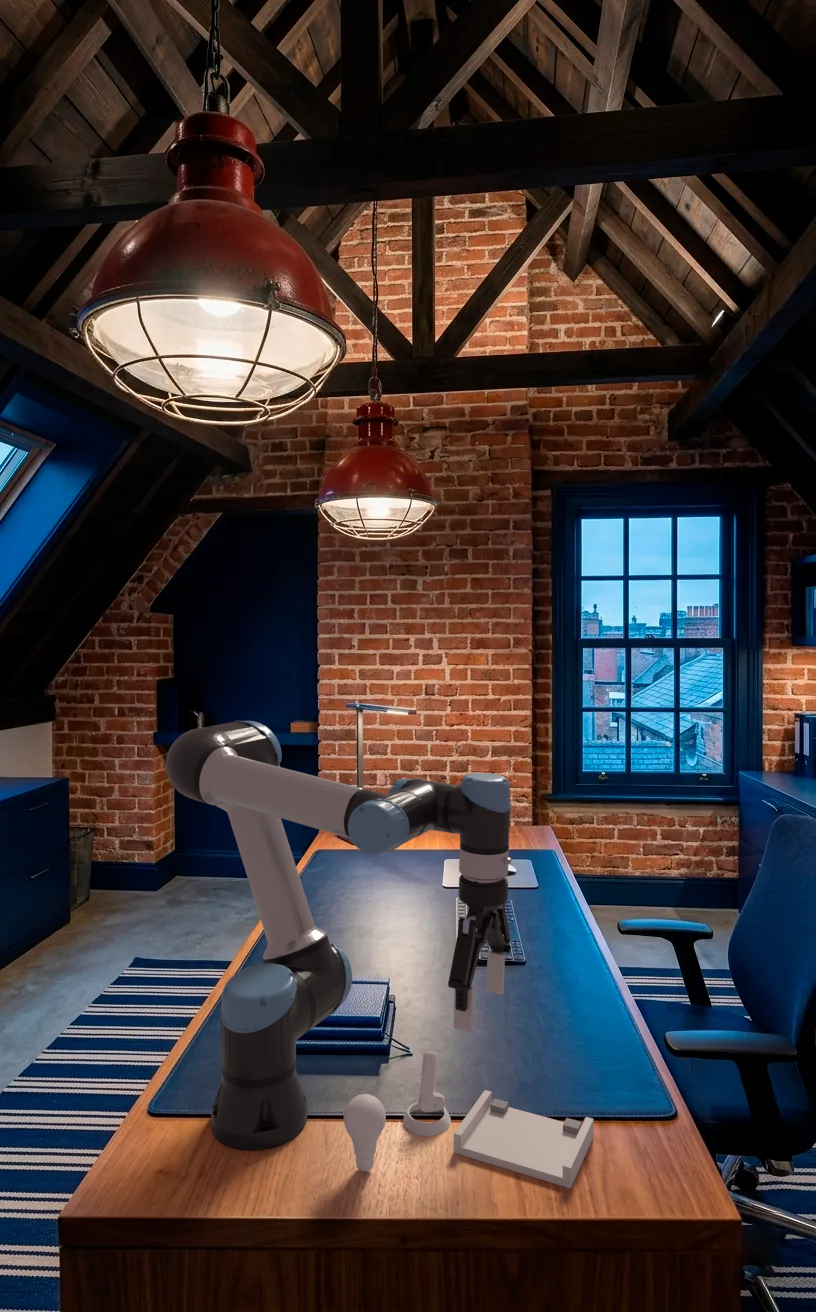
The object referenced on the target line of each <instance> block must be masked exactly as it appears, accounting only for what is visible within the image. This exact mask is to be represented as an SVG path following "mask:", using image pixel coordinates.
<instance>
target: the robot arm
mask: <svg viewBox="0 0 816 1312" xmlns="http://www.w3.org/2000/svg"><path fill="white" fill-rule="evenodd" d="M282 757H283V754H282V749H281V745H280V742H279V740H278V738H277V736H276V735H275V734H274V733H273V731H272V730H271V729H270V728H269V727H268V726H266V725H264V724H262V723H260V722H257V721H254V720H244V721H243V720H234V721H231V722H226V723H220V724H216V725H211V726H205V727H197V728H194V729H190V730H188V731H186V732H184V733H182V734H181V735H180V736H179V737H177V738H176V739H175V740H174V741H173V743H172V744H171V746H170V748H169V749H168V752H167V755H166V759H165V769H166V775H167V777H168V780H169V782H170V784H171V785H172V787H174V789H175V790H176V791H177V792H178V793H180V794H181V795H182V796H185V797H187V798H188V799H192V800H194V801H197V802H201V803H203V804H207V805H210V806H216V807H217V808H219V809H221V810H223V811H225V812H226V813H227V815H228V819H229V821H230V825H231V829H232V832H233V834H234V835H233V836H234V837H235V841H236V843H237V848H238V850H239V855H240V858H241V861H242V864H243V866H244V869H245V874H246V876H247V881H248V883H249V886H250V890H251V893H252V896H253V899H254V901H255V902H254V903H255V906H256V909H257V912H258V915H259V918H260V921H261V925H262V928H263V931H264V935H265V938H266V940H267V945H266V949H265V951H264V953H263V955H262V959H263V961H264V963H259V964H257V965H256V966H248V967H246V968H243V969H241V970H239V971H238V972H236V973H234V974H233V975H232V976H231V977H230V978H229V979H228V980H227V982H226V983H225V984H224V986H223V989H222V993H221V1004H220V1015H219V1016H220V1021H221V1022H220V1023H221V1025H220V1027H221V1029H220V1031H221V1069H222V1070H221V1080H220V1083H219V1086H218V1089H217V1093H216V1096H215V1099H214V1101H213V1105H212V1107H211V1108H212V1109H211V1113H210V1115H211V1117H210V1119H211V1120H210V1121H211V1123H210V1125H211V1132H212V1134H213V1136H214V1138H216V1139H217V1141H219V1142H220V1143H222V1144H224V1145H225V1146H227V1147H230V1148H234V1149H238V1150H247V1151H248V1150H249V1151H254V1150H255V1151H257V1150H263V1149H269V1148H274V1147H277V1146H279V1145H282V1144H284V1143H286V1142H288V1141H290V1140H292V1139H293V1138H295V1137H296V1136H297V1135H299V1134H300V1132H302V1130H303V1129H304V1128H305V1125H306V1124H307V1120H308V1103H307V1101H308V1100H307V1098H306V1096H305V1093H304V1092H303V1088H302V1085H301V1081H300V1078H299V1074H298V1072H297V1059H296V1058H297V1050H296V1047H297V1045H296V1044H297V1040H298V1039H300V1038H301V1037H302V1036H303V1035H305V1034H306V1033H308V1032H309V1031H311V1030H312V1029H313V1028H314V1027H315V1026H317V1025H318V1024H320V1023H321V1022H322V1021H323V1020H325V1019H327V1018H329V1017H331V1016H332V1015H333V1014H334V1013H335V1012H336V1011H337V1010H338V1009H339V1007H340V1006H342V1005H343V1004H344V1003H345V1001H346V1000H347V998H348V997H349V995H350V992H351V991H352V989H351V988H352V985H353V969H352V965H351V963H350V960H349V957H348V956H347V953H346V952H345V951H344V950H343V949H340V948H339V945H337V944H336V943H334V942H332V941H330V940H329V937H328V933H327V931H325V930H323V929H321V928H319V927H317V925H315V922H314V918H313V916H312V912H311V909H310V906H309V904H308V903H309V902H308V900H307V897H306V893H305V890H304V887H303V883H302V879H301V878H300V875H299V874H300V873H299V872H298V868H297V865H296V862H295V859H294V856H293V852H292V850H291V846H290V843H289V841H288V840H289V839H288V837H287V833H286V830H285V827H284V824H283V821H282V820H287V821H289V822H292V823H295V824H299V825H302V826H306V827H310V828H313V829H317V830H321V831H324V832H327V833H331V834H335V835H338V836H342V837H345V838H348V839H350V840H351V841H350V842H352V845H354V846H356V848H358V849H359V851H361V852H362V853H364V854H366V855H369V856H370V855H371V856H377V855H381V854H384V853H390V852H392V851H394V850H396V849H399V847H400V846H402V845H404V844H406V843H408V842H410V841H411V840H413V839H416V838H417V837H420V836H421V835H424V834H425V833H428V832H429V831H434V832H441V833H442V832H443V833H449V834H458V835H459V841H460V842H459V860H458V861H459V862H458V863H459V865H458V872H459V874H461V875H460V876H459V878H458V898H459V900H460V901H461V902H462V903H463V904H465V905H466V906H467V907H468V910H467V914H466V916H465V917H459V920H458V923H457V926H458V927H457V936H456V940H455V941H456V942H455V947H454V952H453V957H452V963H451V966H450V973H449V978H448V982H447V983H448V984H447V985H448V988H451V989H454V999H453V1000H454V1002H453V1003H454V1005H453V1006H454V1007H453V1008H454V1009H453V1010H454V1011H453V1028H454V1029H457V1030H459V1031H460V1030H461V1031H464V1032H468V1033H472V1031H473V1027H474V1025H473V1024H474V1022H473V1021H474V1020H473V1019H474V991H475V990H474V989H475V987H474V986H472V984H473V981H474V980H473V979H474V976H475V972H476V968H477V966H478V961H479V957H480V954H481V949H482V947H484V946H485V945H486V942H487V944H488V947H489V949H490V950H488V951H487V963H486V964H487V965H486V989H485V990H486V992H487V993H491V994H497V995H500V996H503V994H505V968H506V967H505V963H506V961H505V959H506V958H505V957H506V954H507V953H508V954H510V953H511V950H512V946H511V945H510V943H511V936H510V930H509V923H508V917H507V912H506V903H507V901H508V896H509V895H508V894H509V893H508V892H509V879H508V878H507V875H508V874H509V865H511V864H512V858H511V857H509V850H510V849H509V848H510V826H511V810H512V804H511V784H510V781H509V779H508V778H506V777H505V776H503V775H502V774H501V775H500V774H497V773H489V772H488V773H487V772H486V773H485V772H484V773H483V772H473V773H467V774H465V775H463V777H462V779H461V783H460V784H453V783H446V782H438V781H431V780H424V779H421V778H399V779H397V780H396V781H394V783H393V786H391V787H390V788H389V791H388V793H381V792H377V791H374V790H369V789H365V788H363V787H358V786H356V785H355V786H354V785H351V784H346V783H343V782H340V781H335V780H332V779H328V778H323V777H320V776H316V775H312V774H308V773H305V772H300V771H298V770H297V771H296V770H293V769H288V768H285V767H281V765H280V763H281V762H282ZM505 953H506V954H505Z"/></svg>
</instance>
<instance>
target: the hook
mask: <svg viewBox="0 0 816 1312" xmlns="http://www.w3.org/2000/svg"><path fill="white" fill-rule="evenodd" d="M422 1057H423V1058H422V1065H421V1066H422V1067H421V1081H420V1093H419V1097H418V1100H417V1101H416V1102H414V1103H412V1104H411V1105H409V1106H408V1108H407V1110H406V1112H405V1113H404V1116H403V1119H402V1120H403V1126H404V1127H405V1128H406V1130H407V1129H408V1130H407V1131H409V1132H410V1133H413V1134H415V1135H417V1136H424V1137H433V1136H437V1135H440V1134H441V1135H442V1134H443V1133H444V1132H446V1131H447V1130H448V1129H449V1128H450V1127H451V1123H452V1120H451V1119H452V1118H451V1116H450V1114H449V1111H448V1110H447V1108H446V1107H445V1103H446V1101H445V1097H444V1095H443V1094H441V1093H440V1092H438V1091H437V1092H435V1090H436V1078H437V1077H436V1076H437V1064H438V1063H437V1062H438V1059H437V1058H438V1056H437V1053H436V1052H433V1051H425V1052H424V1053H423V1056H422ZM417 1108H420V1109H419V1110H421V1111H422V1112H423V1113H430V1112H440V1111H439V1110H441V1111H442V1112H443V1113H444V1114H443V1113H442V1112H441V1113H442V1114H443V1116H442V1117H441V1118H440V1119H438V1120H436V1121H431V1122H424V1121H418V1120H416V1119H415V1118H413V1117H412V1115H411V1113H412V1112H411V1111H413V1110H414V1109H417ZM410 1112H411V1113H410ZM413 1112H414V1111H413Z"/></svg>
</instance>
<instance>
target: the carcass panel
mask: <svg viewBox="0 0 816 1312" xmlns="http://www.w3.org/2000/svg"><path fill="white" fill-rule="evenodd" d="M492 1094H493V1092H492V1091H490V1090H487V1089H485V1090H483V1092H482V1093H481V1095H480V1096H479V1097H478V1099H477V1100H476V1101H475V1103H474V1104H473V1106H472V1107H471V1108H470V1109H469V1111H468V1113H467V1115H466V1116H465V1117H464V1118H463V1120H462V1121H461V1123H460V1124H459V1125H458V1127H457V1128H456V1130H455V1131H454V1132H453V1154H457V1155H461V1156H463V1157H467V1158H470V1159H472V1160H476V1161H480V1162H483V1163H487V1164H489V1165H492V1166H495V1167H499V1168H502V1169H506V1170H508V1171H512V1172H516V1173H519V1174H522V1175H525V1176H528V1177H530V1178H531V1177H532V1178H535V1179H538V1180H540V1181H541V1180H542V1181H545V1182H549V1183H551V1184H554V1185H558V1186H561V1187H564V1188H567V1189H572V1187H573V1185H574V1183H575V1181H576V1178H577V1176H578V1173H579V1171H580V1169H581V1167H582V1164H583V1162H584V1159H585V1157H586V1155H587V1153H588V1151H589V1148H590V1147H591V1144H592V1142H593V1139H594V1131H595V1130H594V1129H595V1128H594V1121H595V1120H594V1118H592V1117H587V1116H586V1117H584V1119H583V1122H582V1121H580V1120H576V1119H572V1118H568V1117H566V1118H565V1120H564V1121H562V1120H557V1119H553V1118H550V1117H546V1116H543V1115H539V1114H536V1113H532V1112H528V1111H523V1110H521V1109H516V1108H514V1107H510V1106H509V1101H505V1100H502V1099H498V1098H493V1096H492Z"/></svg>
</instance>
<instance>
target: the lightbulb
mask: <svg viewBox="0 0 816 1312" xmlns="http://www.w3.org/2000/svg"><path fill="white" fill-rule="evenodd" d="M386 1117H387V1115H386V1109H385V1106H384V1104H383V1103H382V1101H380V1100H379V1099H378V1097H376V1096H374V1095H372V1094H369V1093H368V1094H367V1093H362V1094H358V1095H355V1097H353V1098H352V1099H351V1100H350V1101H349V1102H348V1103H347V1105H346V1107H345V1110H344V1113H343V1123H344V1127H345V1130H346V1132H347V1134H348V1135H349V1137H350V1139H351V1141H352V1144H353V1153H354V1155H355V1164H356V1165H355V1166H356V1169H358V1170H359V1171H361V1172H364V1173H366V1172H367V1173H368V1171H371V1170H372V1169H373V1168H374V1164H375V1163H374V1161H375V1154H376V1150H377V1149H376V1148H377V1142H378V1140H379V1137H380V1136H381V1134H382V1132H383V1130H384V1128H385V1125H386Z"/></svg>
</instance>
